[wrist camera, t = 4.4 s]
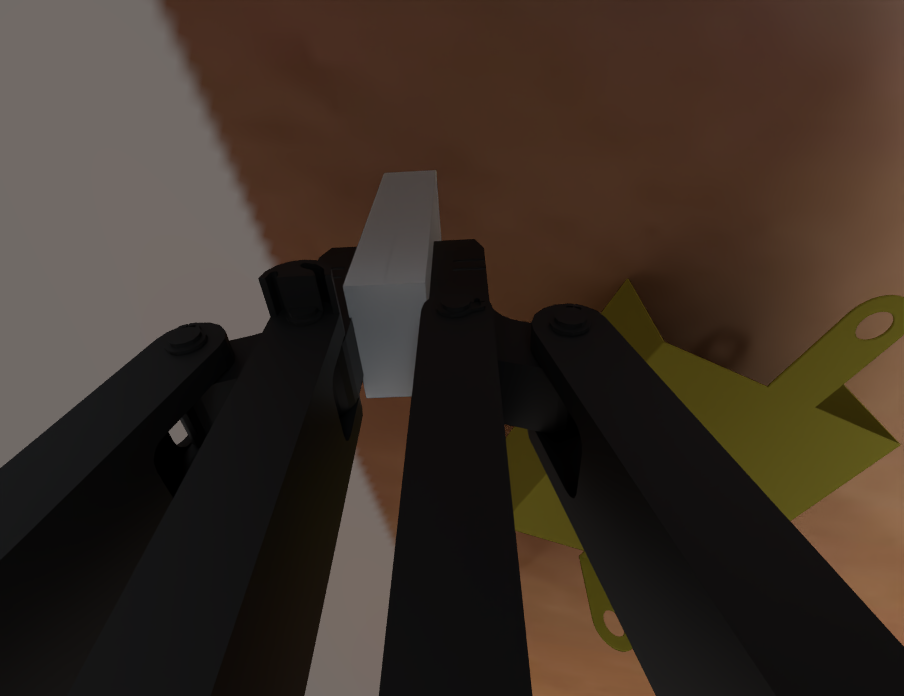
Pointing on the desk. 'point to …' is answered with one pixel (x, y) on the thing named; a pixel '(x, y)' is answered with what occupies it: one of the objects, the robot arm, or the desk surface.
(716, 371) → the bracket
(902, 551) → the desk surface
